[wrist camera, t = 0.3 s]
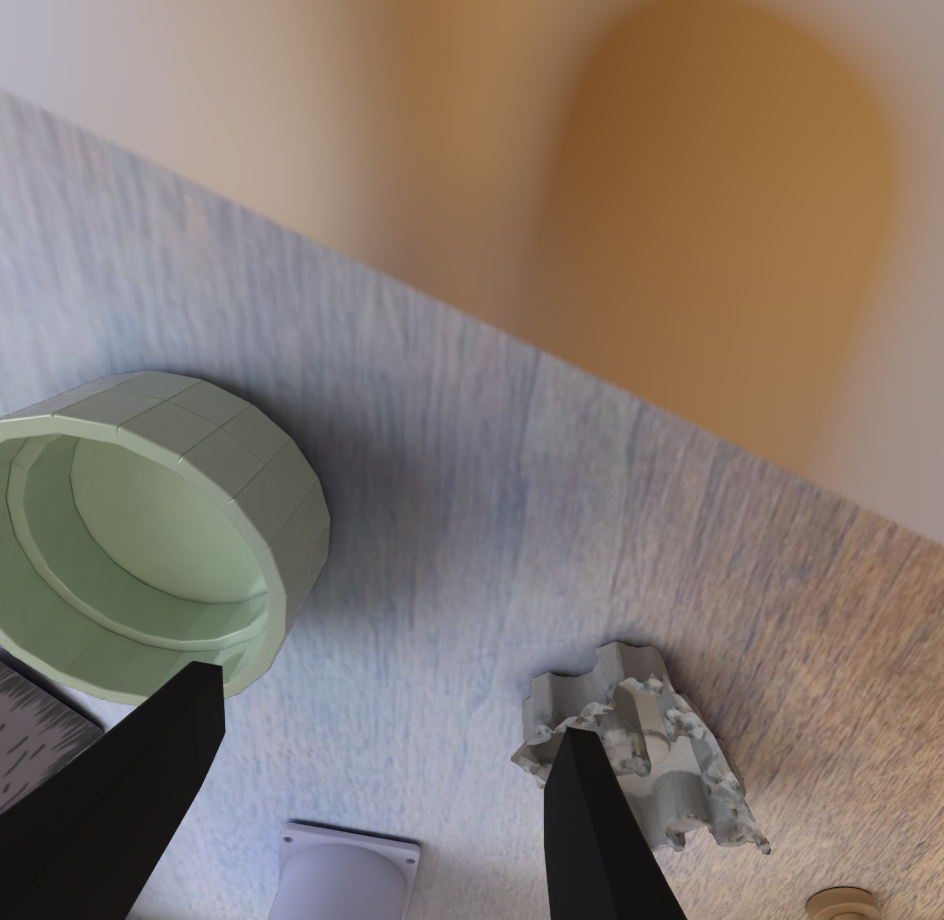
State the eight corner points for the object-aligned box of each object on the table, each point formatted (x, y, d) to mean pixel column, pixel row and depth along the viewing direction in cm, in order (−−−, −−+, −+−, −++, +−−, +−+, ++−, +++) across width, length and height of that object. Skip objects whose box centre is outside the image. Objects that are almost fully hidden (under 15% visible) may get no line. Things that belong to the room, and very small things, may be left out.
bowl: (326, 633, 23) (282, 733, 19) (77, 587, 23) (-27, 677, 19) (344, 399, 19) (291, 459, 14) (30, 339, 18) (-126, 379, 14)
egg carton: (743, 766, 25) (784, 860, 22) (603, 808, 27) (618, 901, 24) (653, 618, 22) (683, 701, 18) (499, 679, 24) (497, 765, 20)
